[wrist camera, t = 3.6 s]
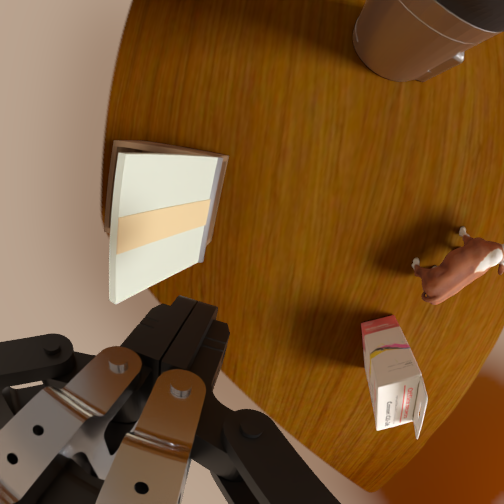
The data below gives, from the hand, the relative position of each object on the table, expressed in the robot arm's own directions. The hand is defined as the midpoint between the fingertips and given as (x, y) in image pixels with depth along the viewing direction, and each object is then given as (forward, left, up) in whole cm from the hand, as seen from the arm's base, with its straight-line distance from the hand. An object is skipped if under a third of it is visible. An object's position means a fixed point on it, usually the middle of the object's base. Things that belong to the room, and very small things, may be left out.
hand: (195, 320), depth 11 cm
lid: (+6, 0, -11) cm, 13 cm away
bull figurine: (-24, -2, -23) cm, 33 cm away
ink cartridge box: (-20, +13, -23) cm, 33 cm away
